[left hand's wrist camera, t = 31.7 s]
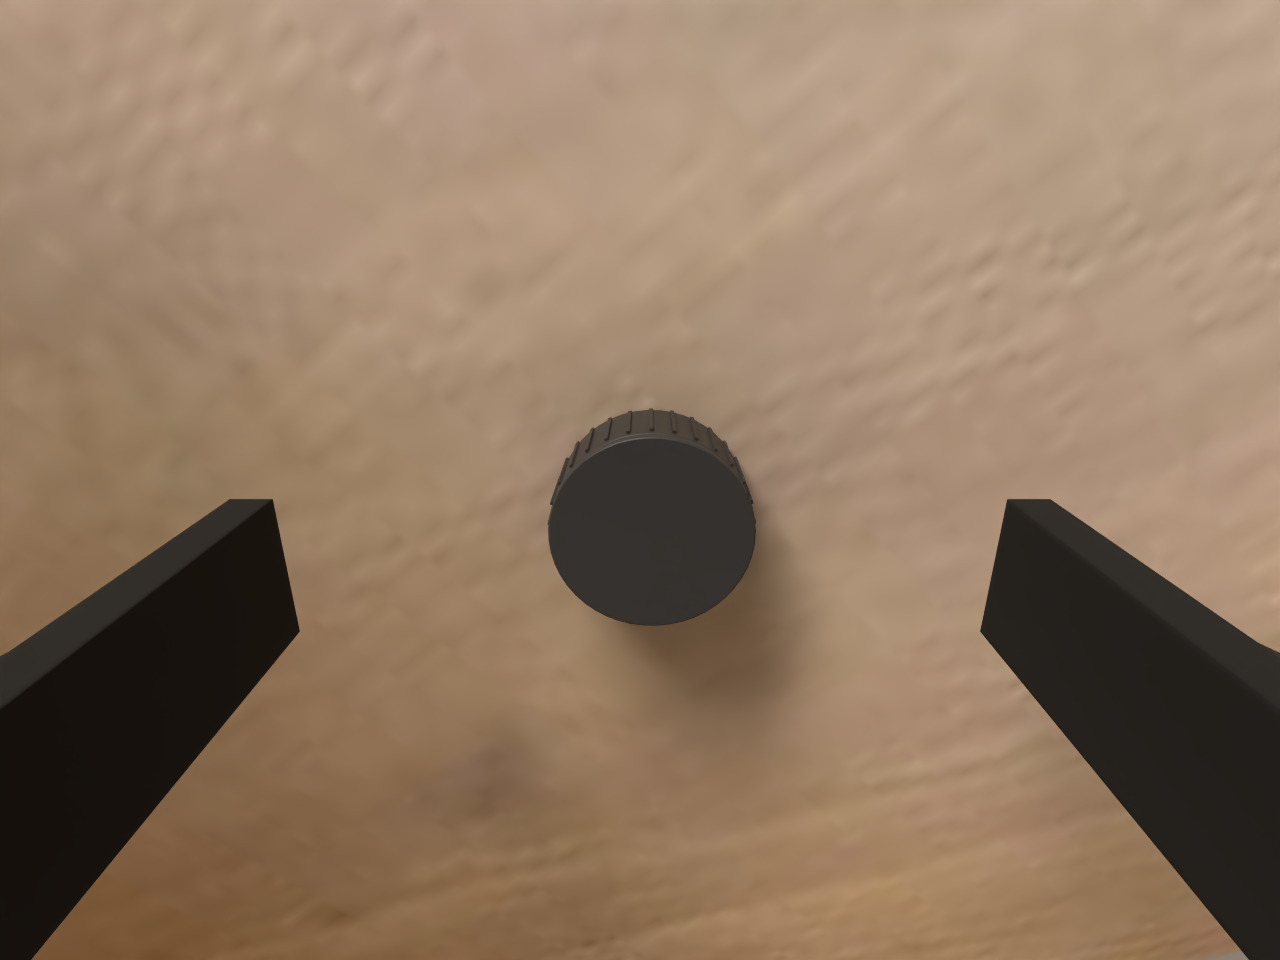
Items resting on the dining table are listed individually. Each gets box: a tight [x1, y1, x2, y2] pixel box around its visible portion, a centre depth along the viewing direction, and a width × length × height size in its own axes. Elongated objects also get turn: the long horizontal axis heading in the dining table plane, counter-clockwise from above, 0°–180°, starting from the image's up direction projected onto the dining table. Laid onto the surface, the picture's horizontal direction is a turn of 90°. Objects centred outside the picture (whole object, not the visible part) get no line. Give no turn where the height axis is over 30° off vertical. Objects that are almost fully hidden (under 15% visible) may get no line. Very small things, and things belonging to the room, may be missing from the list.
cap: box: [548, 409, 756, 626], centre depth 15 cm, size 4×4×2 cm
